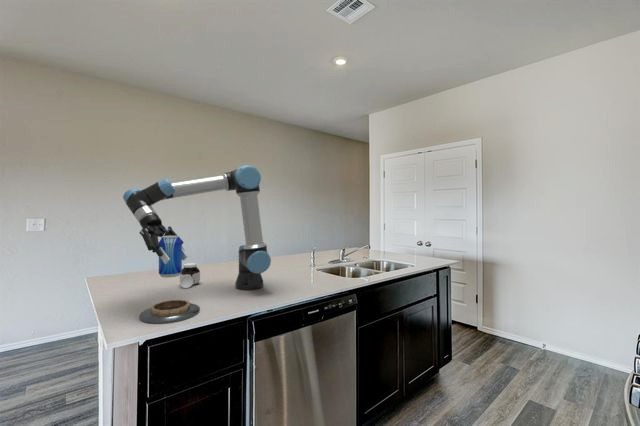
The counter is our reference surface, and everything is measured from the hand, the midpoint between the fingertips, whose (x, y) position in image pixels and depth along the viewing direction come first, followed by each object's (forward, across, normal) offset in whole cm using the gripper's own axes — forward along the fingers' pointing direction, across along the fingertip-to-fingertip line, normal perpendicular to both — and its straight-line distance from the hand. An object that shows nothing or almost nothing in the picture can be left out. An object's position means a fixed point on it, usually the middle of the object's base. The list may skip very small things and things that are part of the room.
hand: (176, 260), depth 121 cm
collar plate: (+13, 0, -18) cm, 22 cm away
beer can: (+2, 0, -7) cm, 8 cm away
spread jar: (-6, -37, -38) cm, 53 cm away
